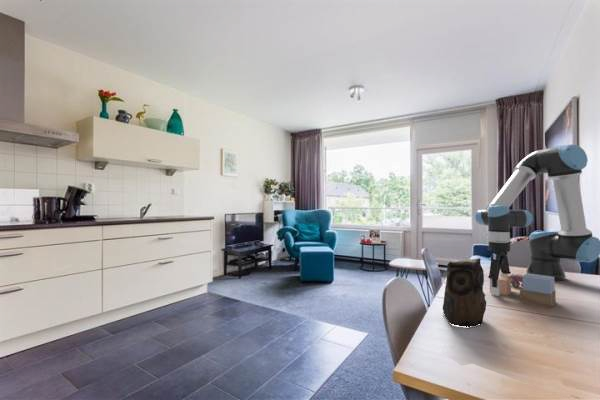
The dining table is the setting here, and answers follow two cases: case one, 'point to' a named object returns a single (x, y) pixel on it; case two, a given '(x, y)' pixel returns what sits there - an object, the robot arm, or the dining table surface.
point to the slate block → (538, 283)
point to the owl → (464, 293)
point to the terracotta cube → (504, 285)
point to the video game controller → (516, 279)
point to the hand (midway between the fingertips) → (500, 291)
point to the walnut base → (538, 298)
